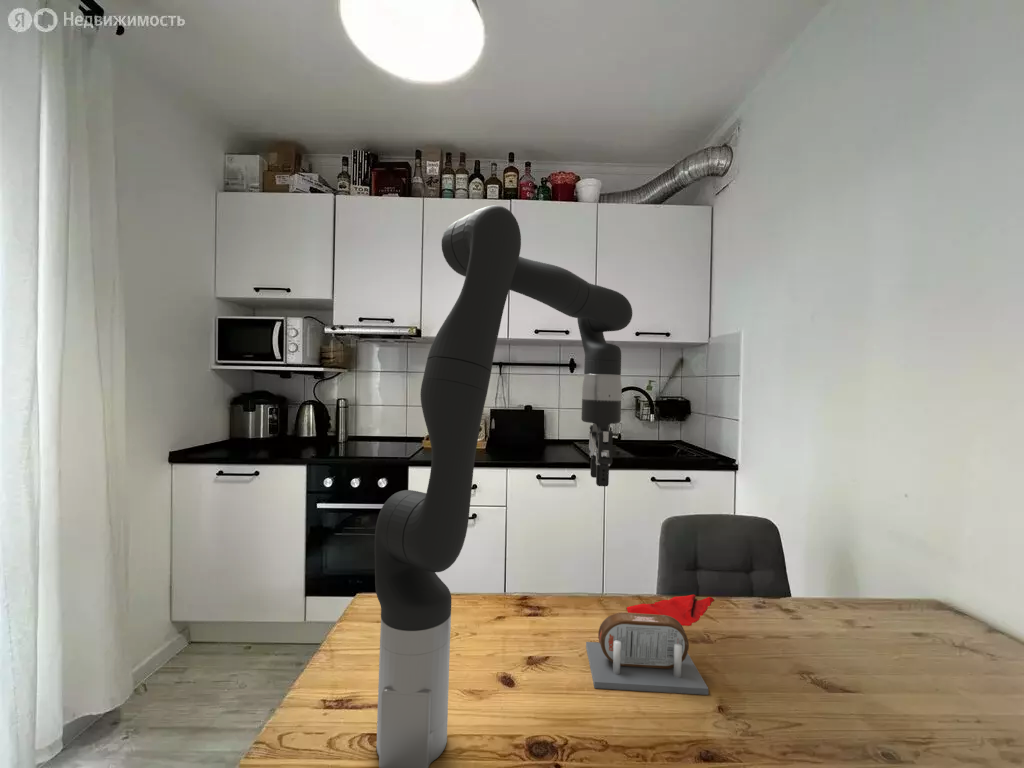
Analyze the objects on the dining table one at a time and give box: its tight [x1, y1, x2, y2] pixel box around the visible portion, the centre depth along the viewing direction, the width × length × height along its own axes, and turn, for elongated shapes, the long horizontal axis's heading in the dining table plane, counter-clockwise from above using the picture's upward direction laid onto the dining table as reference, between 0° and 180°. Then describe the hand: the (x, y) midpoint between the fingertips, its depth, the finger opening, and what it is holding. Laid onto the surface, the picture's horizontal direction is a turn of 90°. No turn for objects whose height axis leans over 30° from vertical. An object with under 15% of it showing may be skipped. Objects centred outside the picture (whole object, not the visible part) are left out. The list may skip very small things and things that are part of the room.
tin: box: [597, 611, 690, 669], centre depth 81 cm, size 15×3×8 cm, turn 87°
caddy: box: [585, 640, 709, 696], centre depth 82 cm, size 12×18×6 cm, turn 87°
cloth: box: [626, 594, 715, 627], centre depth 104 cm, size 26×14×2 cm, turn 100°
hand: (598, 481), depth 92 cm, fingers open, 8 cm apart
